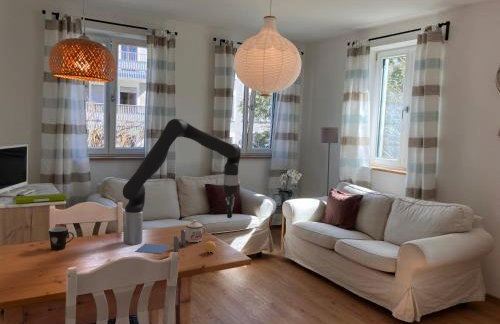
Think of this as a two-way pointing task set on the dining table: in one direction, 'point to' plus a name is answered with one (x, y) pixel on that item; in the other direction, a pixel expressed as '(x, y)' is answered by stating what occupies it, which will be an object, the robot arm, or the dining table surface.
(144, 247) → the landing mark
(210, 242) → the ball
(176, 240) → the post
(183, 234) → the post
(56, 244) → the coffee mug
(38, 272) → the dining table surface
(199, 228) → the teacup with lid
